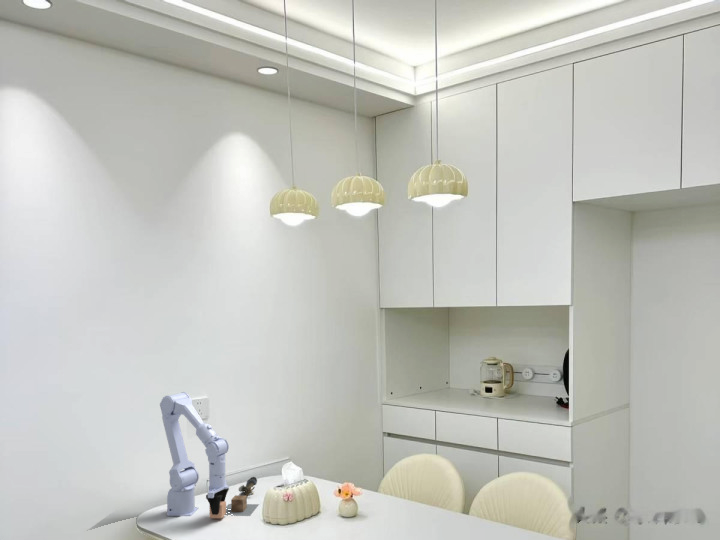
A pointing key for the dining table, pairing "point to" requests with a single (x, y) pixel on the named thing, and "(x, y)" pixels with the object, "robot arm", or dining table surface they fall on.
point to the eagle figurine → (248, 486)
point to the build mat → (247, 512)
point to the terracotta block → (220, 510)
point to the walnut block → (238, 503)
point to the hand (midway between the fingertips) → (217, 511)
